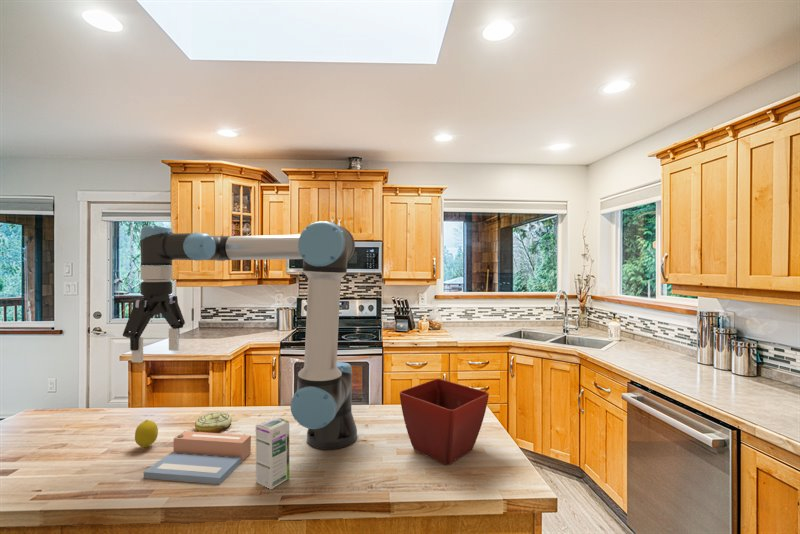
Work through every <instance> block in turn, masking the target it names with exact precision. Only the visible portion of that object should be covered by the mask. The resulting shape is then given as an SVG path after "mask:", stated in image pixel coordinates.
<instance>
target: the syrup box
mask: <svg viewBox="0 0 800 534" xmlns="http://www.w3.org/2000/svg"><path fill="white" fill-rule="evenodd" d="M255 478H256V479H255V481H256V483H257V484H258V485H260V484H261V485H260V486H262V485H263V486H262V487H264V486H265V488H266V487H267V489H268V488H269V490H271V489H272V490H273V489H274V488H276V487H277V486H279V485H280V484H282V483H284V482H285V481H288V480H289V479H290V421H289V420H288V419H287V420H286V419H284V418H282V417H276V416H273V417H272V418H269V419H267V420H264V421H262V422H260V423H257V424H256V425H255Z"/></svg>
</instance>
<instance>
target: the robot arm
mask: <svg viewBox="0 0 800 534" xmlns="http://www.w3.org/2000/svg"><path fill="white" fill-rule="evenodd" d="M353 236H354V235H352V232H350V231H349V230H348V229H347V228H345V227H344V226H341V225H337V224H336V223H334V222H332V221H324V220H323V221H321V220H320V221H315V222H312V223H310V224H308V225H307V226H306V227H304V228H303V230H302V231H301V233H300V234H271V235H270V234H269V235H268V234H267V235H266V234H265V235H260V234H258V235H223V236H220V235H219V236H217V235H216V236H215V235H210V234H208V233H205V232H204V233H203V232H192V233H190V232H189V233H185V232H184V233H174V232H173V228H171V226H164V225H144V226H142V227H141V229H140V238H139V246H140V248H139V249H140V280H141V282H140V296H141V295H142V296H143V299H134V300H132V301H133V302H132V309H131V312H130V314H129V317H128V320H127V323H126V325H125V328H124V330H123V333H122V337H123V338H127V339H129V342H130V343H129V344H130V345H129V347H130V349H129V350H130V351H131V363H140V364H141V363H143V362H144V337H142V334H143V332H144V331H145V329H146V328H147V326H148V324H149V322H150V320H151V319H152V318H153V317H154V316H155V315H159V314H161V315H162V317H163V318H164V319H165V321H166V322H167V323H168V325H169V326H170V328H168V351H179V350H180V347H179V346H180V329H183V328H184V325H185V324H186V323H185V322H186V321H185V319H184V316H183V313H182V310H181V308H180V305H179V302H178V301H179V300H178V296H177V295H171V294H172V293H173V282H172V281H170V280H172V279H173V261H198V262H199V261H219V262H221V261H222V262H224V261H247V260H249V261H254V260H256V261H257V260H262V261H263V260H264V261H265V260H302V272H303V274H304V275H305V276H306V277H307V280H308V281H307V299H306V300H307V301H306V316H305V317H306V322H305V340H304V345H305V346H304V361H303V368H301V369H300V370H299V371H298V372H297V386H296V392H295V393H294V394H293V395H292V396H293V397H292V398H291V402H290V411H291V415H292V417H293V419H294V420H295V421H296V422H297V423H298V424H299V425H300V426H302V427H304V428H306V429H307V430H306V431H307V432H306V442H307V444H309V446H310V447H313V448H315V449H320V450H337V449H341V448H345V447H347V446H350V445H351V444H354V443H355V442H356V440H357V438H358V428H357V425H356V422H355V419H354V416H353V411H352V405H353V404H352V402H353V401H352V399H353V398H352V395H353V394H352V393H353V392H352V391H353V388H352V386H353V371H352V370H353V369H352V365H351V364H350V363H348V362H342V361H338V346H339V345H338V342H339V341H338V340H339V323H340V322H339V321H340V319H339V317H340V303H341V301H340V300H341V299H340V298H341V280H342V279H343V277H345V276H346V275H347V271H348V261H349V260H350V259H351V258H352V256H353V254H354V252H355V248H356V244H355V239H354V237H353Z"/></svg>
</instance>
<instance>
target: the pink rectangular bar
mask: <svg viewBox="0 0 800 534" xmlns="http://www.w3.org/2000/svg"><path fill="white" fill-rule="evenodd" d="M251 445H252V435H250V434H249V435H248V434H234V433H221V432H220V433H219V432H215V433H206V432H198V431H187V430H185V431H183V432H181V433H179V434H177V435H176V436H175V437H174V438H173V451H172V452H180V453H194V454H209V455H223V456H237V457H241V462H244V461H245V459H246V458H247V457H248V456H249V455H251V453H252V446H251Z"/></svg>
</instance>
